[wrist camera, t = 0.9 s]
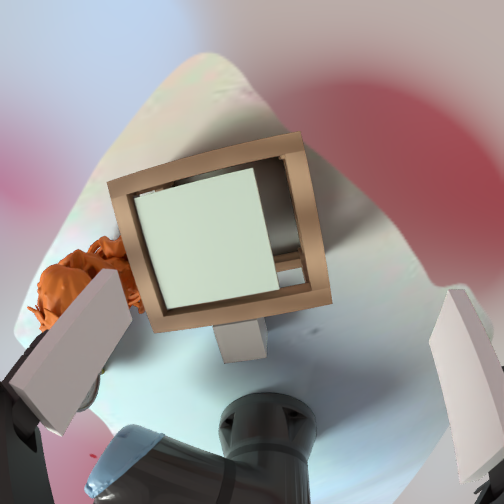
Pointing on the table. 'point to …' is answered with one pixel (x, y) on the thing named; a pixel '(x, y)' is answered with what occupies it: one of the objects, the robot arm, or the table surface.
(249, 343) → the grey block
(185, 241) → the hatch
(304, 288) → the frame
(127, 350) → the table surface
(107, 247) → the orange sculpture
